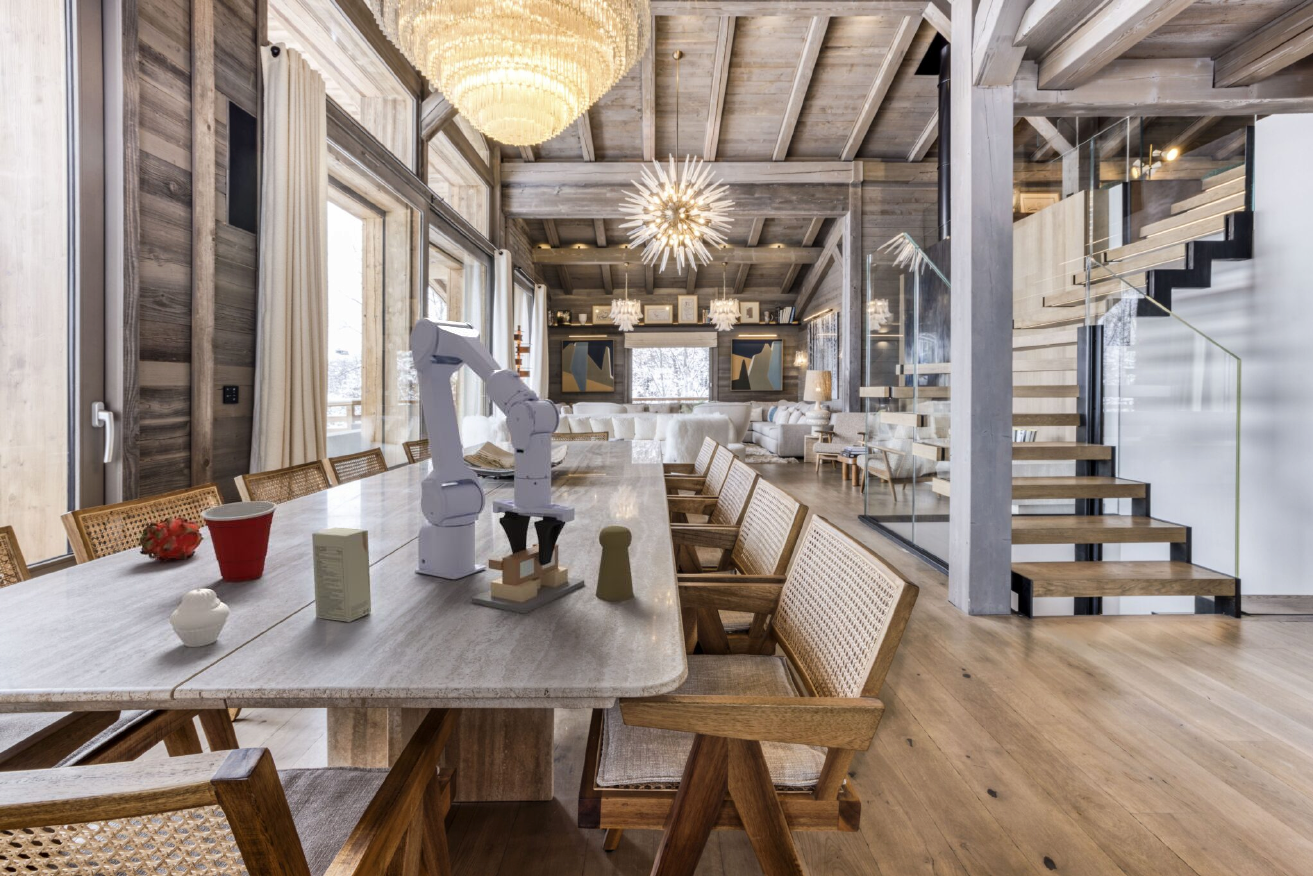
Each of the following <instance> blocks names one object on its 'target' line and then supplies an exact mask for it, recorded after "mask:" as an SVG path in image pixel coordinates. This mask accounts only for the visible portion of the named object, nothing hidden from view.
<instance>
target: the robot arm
mask: <svg viewBox="0 0 1313 876" xmlns="http://www.w3.org/2000/svg"><path fill="white" fill-rule="evenodd" d="M409 343H410V349H411V356H412V361H413V366H414V367H413V368H414V369H415V370H416V376H417V380H418V386H419V387H418V388H419V392H420V393H419V394H420V398H421V399H420V401H421V404H422V409H423V411H422V412H423V417H424V422H425V423H424V424H425V428H426V433H427V434H426V435H427V440H428V446H429V452H430V457H431V465H432V470H431V471H430V472H429V474H428V475H426V477H425V478H423V480H422V481H421V482H420V486H421V499H420V509H421V512H422V514H423V516H424V519H425V520H427V521H426V522H424V523H423V524H422V526H421V527H420V529H419V533H418V539H417V541H418V542H417V545H418V547H417V548H418V550H417V551H418V567H417V568H415V569H414V572H415V573H419V574H424V575H430V576H434V577H438V578H439V577H441V578H445V579H450V580H458V579H460V578H463V577H466V576H469V575H472V574H475V573H477V572H480V571H483V570H486V568H487V566H486V565H483V564H477V563H476V521H479V515H481V513H483V512H484V509H485V505H486V494H485V491H484V489H483V487H482V486H481V484H480V481H479V480H480V479H479V476H478V473H477V472H476V471H475V470H473V469H471V468H470V467H468V466H467V465H466V464H465V459H464V454H463V447H462V442H461V435H460V431H459V430H460V429H459V424H458V417H457V414H456V413H457V412H456V408H455V401H454V395H453V389H452V383H451V377H452V375H453V374H454V373H456V372H458V371H460V370H461V369H462V368H463V366H464V365H466V366H467V367H468V368H469V369H471V370H472V371H473V373H475V375H477V376H478V377H479V378H480V379H482V381H484V383H485V386H484V391H485V395H486V396H488V398H489V399H490V400H491V401H492V402H493V403H494V404H495V406H496V407H497V408H498V410H500V411H501V413H502V414H504V416H505V425H506V428H507V432H509V435H510V444H511V445H512V446H511V447H512V448H513V452H514V453H513V454H514V455H513V456H514V457H513V458H514V460H513V461H514V462H513V463H514V466H513V467H514V469H513V470H514V471H513V472H514V474H513V475H514V476H513V478H514V479H513V484H514V485H513V486H514V487H513V493H514V494H513V495H514V496H513V499H502V498H500V499H499V498H498V499H495V500H492V513H495V514H500V513H502V514H504V515H503V517H502V516H501V517H500V518H499V519H498V521H499V524H500V525H501V527H502V529H503V531H504V532H505V534H506V536H507V539H508V542H509V545H510V548H511V552H512V553H511V554H514V553H517V552H520V551H523V550H526V549H527V539H528V537H527V535H528V529H529V525H530V521H531V518H533V517H534V518H540V520H537V521H534V522H533V525H534V528H535V531H536V537H537V544H539V563H540V565H546V564H548V563H551V559H552V555H553V551H554V547H555V544H557V541H558V538H559V536H560V534H561V532H562V530H563V528H564V526H565V525H566V524H567V523H569V522H572V521H575V507H570V506H564V505H561V504H557V503H553V502H552V435H553V434H554V433H556V432H557V430H558V428H559V425H560V413H559V410H558V407H557V406H556V404H555V403H554V402H553V401H552V400H551V399H547V398H546V399H545V398H544V399H542V398H541V397H540V396H538V395H537V393H536V392H535V390H533V389H531V388H530V387H529V386H528V385H527V384H526V382H524V380H522V378H521V374H520V373H519V371H517V370H512V369H509V368H505V369H504V368H502V367H501V365H500V364H499V363H498V362H497V361H496V359H495V358H494V357H493V356H492V354H491V352H489V350H488V349H487V348H486V346H485V345H484V344H483V343H482V341H481V333H480V332H479V331H478V330H477V329H476V328H475V327H474V326H473V324H471V323H469V322H467V321H466V322H465V321H463V322H457V321H451V320H450V321H449V320H441V319H440V320H438V319H433V318H428V317H422V318H420V319H418V320H417V322H416V323H415V325H413V329H412V331H411V333H410V336H409ZM451 483H452V484H451ZM453 483H454V484H453ZM444 484H448V485H444Z"/></svg>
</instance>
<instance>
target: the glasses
mask: <svg viewBox="0 0 1313 876" xmlns="http://www.w3.org/2000/svg"><path fill="white" fill-rule="evenodd" d="M558 567H559V544H557V543H556V544H555V547H554V551H553V555H552V559H551V563H548V564H546V565H540V563H539V544H538V542H537V543H536V542H535V543H533V544H532V546H531V547H529V548H526V550H523V551H520V552H517V553H514V554H513V553H511V554H508V555H506V556H502V558H501V559H499V558H494V557H493V558H491V557H490V558H488V569H490V570H495V571H501V572H502V573H501V578H502V583H503V584H508V585H513V586H517V585H520V584H522V583H524V582H527V581H529V580H531V579H534V578H536V577H539V576H541V575H543V574H546V573H548V572H551V571H553V570H555V569H558Z"/></svg>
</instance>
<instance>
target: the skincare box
mask: <svg viewBox="0 0 1313 876" xmlns="http://www.w3.org/2000/svg"><path fill="white" fill-rule="evenodd" d="M311 536H312V556H313V557H312V558H313V559H312V560H313V575H314V576H313V577H314V578H313V579H314V581H313V582H314V599H315V600H314V601H315V603H314V605H315V617H316V618H319V619H324V620H325V619H327V620H333V621H341V622H346V623H347V622H348V623H350V622H352V621H354V620H357V619H359V618H361V617H364V616H366V615H368V614H370V613H372V607H371V606H372V601H371V599H372V597H371V576H370V575H371V574H370V556H369V555H370V553H369V551H370V550H369V530H367V529H359V528H357V529H356V528H347V527H346V528H345V527H332V528H327V529H324V530H320V531H316V532H312V533H311Z"/></svg>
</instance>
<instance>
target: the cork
mask: <svg viewBox="0 0 1313 876" xmlns="http://www.w3.org/2000/svg"><path fill="white" fill-rule="evenodd" d="M632 537H633V535H632V532H631V530H630V529H629V528H628V527H625V526H620V525H610V526H605V527H604V528H602V529H601V531H600V532H599V536H598V540H599V541H598V542H599V544H600V546H601V548H602V549H601V555H600V562H599V570H598V577H597V583H596V589H595V590H596V591H595V597H596V598H597V599H600V600H603V601H608V602H620V601H627V600H629V599H632V598H633V597H634V587H633V579H632V571H631V570H632V569H631V562H630V552H629V547H630V546H631V544H632V541H633V538H632Z"/></svg>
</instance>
